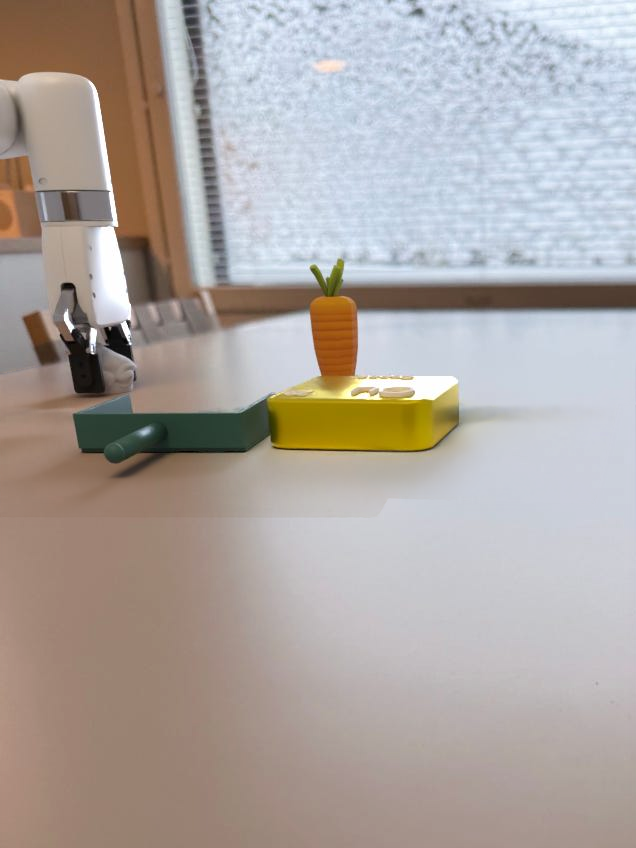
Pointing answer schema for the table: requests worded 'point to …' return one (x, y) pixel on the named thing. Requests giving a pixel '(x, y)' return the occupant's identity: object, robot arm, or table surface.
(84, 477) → the table surface
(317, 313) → the carrot
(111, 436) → the scoop
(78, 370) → the robot arm
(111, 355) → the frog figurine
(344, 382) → the element tile
